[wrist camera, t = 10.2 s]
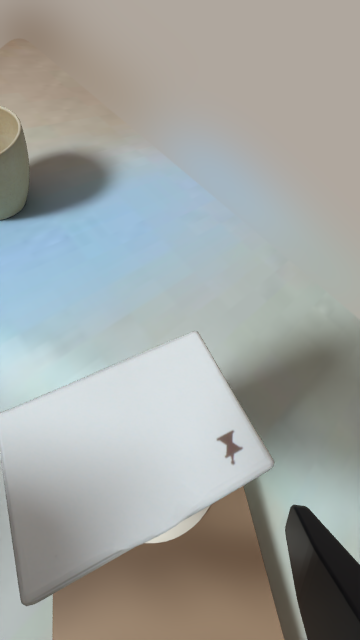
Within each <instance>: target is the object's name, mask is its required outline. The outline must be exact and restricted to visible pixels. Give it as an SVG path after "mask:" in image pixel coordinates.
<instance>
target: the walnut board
mask: <svg viewBox="0 0 360 640" xmlns="http://www.w3.org/2000/svg"><path fill="white" fill-rule="evenodd" d="M53 640H284V637H283V633H282V629H281V626H280V622H279V618H278V614H277V611H276V607H275V603H274V599H273V596H272V592H271V588H270V584H269V581H268V577H267V573H266V569H265V566H264V562H263V558H262V554H261V551H260V547H259V543H258V539H257V536H256V532H255V528H254V524H253V521H252V517H251V513H250V509H249V506H248V502H247V498H246V494H245V491H244V487H243V486H242V487H241V488H239V489H237V490H235V491H234V492H232V493H230V494H228V495H227V496H225V497H223V498H222V499H220V500H218V501H217V502H215V503H213V504H212V505H210V506H208V507H206V508H205V509H203V510H201V511H200V512H198V513H196V514H194V515H192V516H191V517H189V518H187V519H185V520H184V521H182V522H181V523H179V524H178V525H177V526H175V527H174V528H172V529H170V530H169V531H167V532H165V533H163V534H161V535H160V536H158V537H156V538H154V539H152V540H150V541H148V542H145V543H143V544H141V545H139V546H136V547H134V548H133V549H131V550H129V551H127V552H126V553H124V554H122V555H120V556H119V557H117V558H115V559H113V560H111V561H110V562H108V563H106V564H104V565H103V566H101V567H99V568H97V569H96V570H94V571H92V572H90V573H89V574H87V575H85V576H83V577H82V578H80V579H78V580H76V581H75V582H73V583H71V584H69V585H68V586H66V587H64V588H62V589H60V590H59V591H57V592H55V593H53Z"/></svg>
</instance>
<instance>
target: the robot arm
mask: <svg viewBox="0 0 360 640" xmlns="http://www.w3.org/2000/svg"><path fill="white" fill-rule="evenodd" d="M285 533H286V540H287V546H288V551H289V557H290V562H291V568H292V574H293V579H294V585H295V591H296V596H297V601H298V605H299V609H300V613H301V617H302V621H303V624H304V628H305V632H306V635H307V639H308V640H360V565H359V563H358V562H357V561H356V560H355V559H354V558H353V557H352V556H351V555H350V554H349V552H348V551H347V550H346V549H345V548H344V547H343V546H342V545H341V544H340V543H339V541H338V540H337V539H336V538H335V537H334V536H333V535H332V534H331V533H330V531H329V530H328V529H327V528H326V527H325V526H324V525H323V524H322V523H321V522H320V520H319V519H318V518H317V517H316V516H315V515H314V514H313V513H312V512H311V511H310V509H309V508H307V507H306V506H300V505H292V506H291V508H290V512H289V515H288V519H287V523H286V528H285Z"/></svg>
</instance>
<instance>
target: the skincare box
mask: <svg viewBox="0 0 360 640" xmlns="http://www.w3.org/2000/svg"><path fill="white" fill-rule="evenodd" d="M0 456H1V463H2V471H3V478H4V485H5V492H6V499H7V507H8V514H9V521H10V529H11V536H12V543H13V550H14V557H15V564H16V571H17V578H18V585H19V592H20V598H21V602H22V604H23V605H25V606H29V605H33V604H36V603H38V602H39V601H41V600H43V599H45V598H46V597H48V596H50V595H52V594H53V593H55V592H57V591H59V590H60V589H62V588H64V587H66V586H68V585H69V584H71V583H73V582H75V581H76V580H78V579H80V578H82V577H83V576H85V575H87V574H89V573H90V572H92V571H94V570H96V569H97V568H99V567H101V566H103V565H104V564H106V563H108V562H110V561H111V560H113V559H115V558H117V557H119V556H120V555H122V554H124V553H126V552H127V551H129V550H131V549H133V548H134V547H136V546H139V545H141V544H143V543H145V542H148V541H150V540H152V539H154V538H156V537H158V536H160V535H161V534H163V533H165V532H167V531H169V530H170V529H172V528H174V527H175V526H177V525H178V524H179V523H181V522H182V521H184V520H185V519H187V518H189V517H191V516H192V515H194V514H196V513H198V512H200V511H201V510H203V509H205V508H206V507H208V506H210V505H212V504H213V503H215V502H217V501H218V500H220V499H222V498H223V497H225V496H227V495H228V494H230V493H232V492H234V491H235V490H237V489H239V488H241V487H242V486H244V485H246V484H247V483H249V482H251V481H252V480H254V479H256V478H257V477H259V476H261V475H262V474H264V473H266V472H267V471H269V470H270V469H272V467H273V466H274V460H273V458H272V457H271V455H270V453H269V452H268V450H267V448H266V447H265V445H264V443H263V442H262V440H261V438H260V437H259V435H258V433H257V432H256V430H255V428H254V427H253V425H252V423H251V422H250V420H249V418H248V416H247V415H246V413H245V411H244V410H243V408H242V406H241V405H240V403H239V401H238V399H237V398H236V396H235V394H234V393H233V391H232V389H231V388H230V386H229V384H228V382H227V381H226V379H225V377H224V376H223V374H222V372H221V370H220V369H219V367H218V365H217V364H216V362H215V360H214V358H213V357H212V355H211V353H210V352H209V350H208V348H207V346H206V345H205V343H204V341H203V339H202V338H201V336H200V334H199V333H198V332H196V331H193V332H190V333H188V334H186V335H183V336H181V337H178V338H176V339H173V340H171V341H169V342H166V343H164V344H161V345H159V346H157V347H154V348H152V349H150V350H147V351H145V352H142V353H140V354H138V355H135V356H133V357H131V358H128V359H126V360H123V361H121V362H119V363H116V364H114V365H112V366H109V367H107V368H105V369H103V370H100V371H98V372H96V373H93V374H91V375H89V376H87V377H84V378H82V379H80V380H77V381H75V382H73V383H70V384H68V385H66V386H63V387H61V388H59V389H56V390H54V391H52V392H49V393H47V394H44V395H42V396H40V397H37V398H35V399H33V400H30V401H28V402H25V403H23V404H21V405H18V406H16V407H13V408H11V409H8V410H6V411H3V412H0Z"/></svg>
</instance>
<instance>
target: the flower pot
mask: <svg viewBox="0 0 360 640" xmlns="http://www.w3.org/2000/svg"><path fill="white" fill-rule="evenodd" d="M28 188H29V159H28V152H27V146H26V141H25V137H24V133H23V129H22V126H21V123H20V120H19V118H18V117H17V116H16V114H15V113H13V112H12V111H11V110H9V109H7V108H5V107H3V106H0V220H2V219H6V218H9V217H11V216H14V215H15V214H17V213H18V212H19V211H20V210H21V209H22V208H23V207H24V205H25V203H26V199H27V194H28Z"/></svg>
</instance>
